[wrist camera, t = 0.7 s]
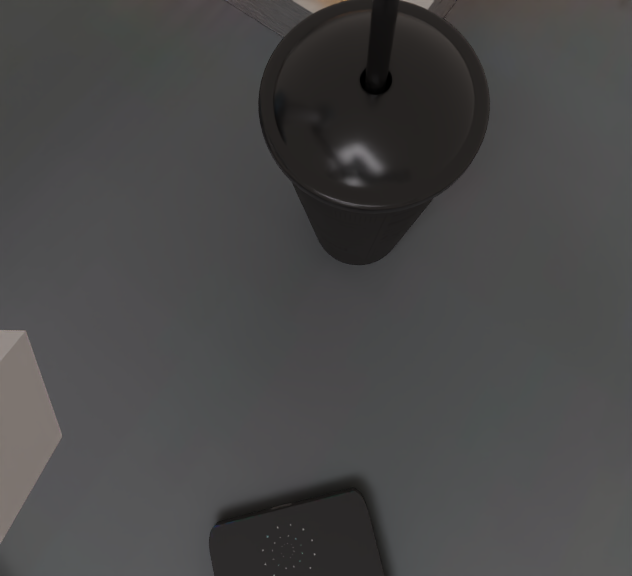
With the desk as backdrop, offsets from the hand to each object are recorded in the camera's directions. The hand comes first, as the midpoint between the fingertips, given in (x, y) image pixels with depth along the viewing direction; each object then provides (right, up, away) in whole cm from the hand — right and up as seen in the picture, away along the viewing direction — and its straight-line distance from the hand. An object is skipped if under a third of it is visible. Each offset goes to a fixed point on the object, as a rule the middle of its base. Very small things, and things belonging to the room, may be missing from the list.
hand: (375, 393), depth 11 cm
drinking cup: (+1, +6, +22) cm, 23 cm away
